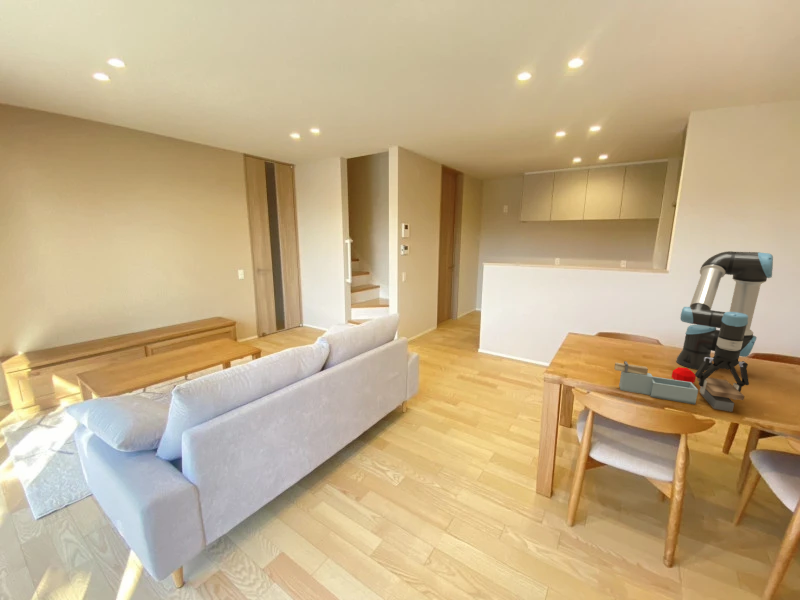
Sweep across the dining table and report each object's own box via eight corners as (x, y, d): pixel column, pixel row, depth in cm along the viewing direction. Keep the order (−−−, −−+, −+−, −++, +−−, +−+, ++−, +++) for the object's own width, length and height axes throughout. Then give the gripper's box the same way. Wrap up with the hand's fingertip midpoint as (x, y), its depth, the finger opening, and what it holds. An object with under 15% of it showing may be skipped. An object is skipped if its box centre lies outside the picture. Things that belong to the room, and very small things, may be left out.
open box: (646, 389, 158) (648, 375, 156) (688, 396, 151) (691, 382, 150) (650, 397, 150) (653, 383, 149) (695, 404, 144) (698, 390, 142)
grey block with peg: (619, 386, 160) (623, 361, 157) (647, 391, 156) (652, 365, 153) (620, 390, 157) (624, 364, 154) (649, 395, 152) (654, 368, 149)
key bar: (614, 368, 159) (615, 362, 158) (645, 372, 154) (646, 366, 153) (615, 370, 157) (616, 364, 156) (646, 374, 152) (647, 368, 151)
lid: (712, 395, 139) (713, 390, 139) (696, 379, 153) (697, 375, 153) (743, 400, 135) (744, 395, 135) (724, 383, 149) (725, 379, 149)
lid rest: (700, 394, 153) (702, 386, 152) (717, 396, 151) (719, 388, 150) (713, 408, 141) (715, 400, 140) (732, 411, 138) (734, 403, 137)
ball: (686, 380, 167) (689, 366, 165) (696, 388, 159) (699, 373, 157) (668, 379, 168) (671, 365, 167) (677, 386, 161) (680, 371, 159)
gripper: (698, 347, 141) (688, 394, 146) (769, 355, 132) (756, 405, 137) (691, 341, 148) (682, 386, 153) (758, 349, 139) (746, 397, 144)
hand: (717, 395), depth 145 cm, fingers closed on lid, 10 cm apart
